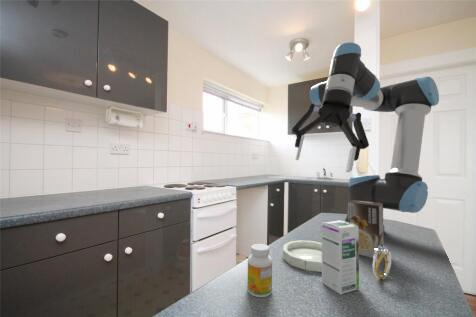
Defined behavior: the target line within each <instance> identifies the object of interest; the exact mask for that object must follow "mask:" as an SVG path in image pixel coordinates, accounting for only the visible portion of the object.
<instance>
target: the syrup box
mask: <svg viewBox="0 0 476 317" xmlns="http://www.w3.org/2000/svg"><path fill="white" fill-rule="evenodd" d="M321 243H322V272H321V282H322V283H323V284H324V285H325V286H327V287H329V288H330V289H331V290H333V291H334V292H336V294H339V295H340V296H341V295H344V294H347V293H350V292H353V291H357V290H359V289H360V255H359V227H358V226H357V225H355V224H352V223H349V222H345V220H340V219H339V220H333V221H327V222H321Z"/></svg>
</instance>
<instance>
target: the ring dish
mask: <svg viewBox="0 0 476 317" xmlns="http://www.w3.org/2000/svg"><path fill="white" fill-rule="evenodd" d="M282 259H283V260H284V261H285V262H286V263H288V264H289V265H290V266H292V267H294V268H295V267H296V268H298V269H301V270H302V271H303V270H304V271H308V272H309V271H310V272H318V273H322V242H319V241H314V240H302V239H301V240H300V239H299V240H291V241H288V242H287V243H284V244H283V246H282Z"/></svg>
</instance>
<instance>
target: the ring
mask: <svg viewBox="0 0 476 317" xmlns="http://www.w3.org/2000/svg"><path fill="white" fill-rule="evenodd" d="M378 253H379V254H380V253H382V254H381V256H380V257H379V258H378V259H377V255H378ZM391 253H392V252H391V250H390V249H388V247H387V246H386V245H383V248H382V247H381V246H380V245H379V246H378V247H375V250H374V256H373V258H372V272H373V275H374V277H376V278H377V279H379V280H385V279H386V278H387V277H388V275H389V273H390V271H391V267H392V254H391ZM383 259H384V260H385V267H384V270H383V272H382V273H379V269H380V265H381V263H382V261H383Z"/></svg>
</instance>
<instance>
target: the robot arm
mask: <svg viewBox="0 0 476 317" xmlns="http://www.w3.org/2000/svg"><path fill="white" fill-rule="evenodd" d="M361 58H362V47H361V46H360V44H357V43H355V42H351V41H350V42H344V43H342V44H339V45H338V46H336V48H335V50H334V52H333V55H332V57H331V63H330V68H329V73H328V77H327V80H326V81H324V82H319V83H317V84H315V85H313V86H312V87H311V88H310V90H309V99H310V102H311V103H310V106H309V108H308V111H307V112H306V113H305V114H304V115H303V116H302V117H301V118H300V119H299V120H298V122H296V124H295V125H294V126H293V127H292V129H291V134H292V135H294V136H296V139H295V143H294V147H295V148H297V151H296V155H295V160H296V161H299V160H300V156H301V152H302V149H303V148H302V147H303V145H304V140H305V135H306V134H308V133H309V132H310V131H312V130H313V129H315V128H316V127H318V126H320V125H321V124H322V123H323V124H324V125H326V126H331V127H334V128H335V127H338V128H339V130H341V131H342V132H343V134H344V135H345V137H346V138H347V141H348V142H349V143H350V145H351V148H350V149H349V154H348V159H347V163H346V168H345V173H350V172H352V171H353V168H354V167H353V166H354V162H355V161H358V160H359V157H360V151H361V150H365V149H367V148H368V147H369V146H370V144H369V140H368V137H367V135H366V131H365V128H364V126H363V122H362V113H360V112H357V113H351V112H350V109H351V107H357V108H358V107H359V108H363V110H366V111H370V112H379V113H390V112H392V113H395V114H396V115H397V116H398V117H397V124H396V125H397V126H396V130H395V137H394V138H395V139H394V145H393V151H392V158H391V164H390V170H388V171H386V172H385V173H384V178H381V176H380V175H379V174H377V175H376V174H374V175H373V174H372V175H358V176H357V175H356V176H351V177H350V178H349V180H348V202H350V201H352V200H358V201H367V202H375V203H383V209H387V210H392V211H398V212H401V213H411V214H412V213H413V214H415V213H418V212H420V211H421V210H422V209H423V208H424V207H425V205H426V202H427V199H428V195H429V191H428V190H429V189H428V188H429V186H428V184H427V183H426V182H425V181H423V177H422V176H421V175H420V174H419V169H420V168H419V166H420V159H421V152H422V143H423V135H424V128H425V120H426V119H425V118H426V116H427V115H429V113H431V111H432V107H435V106H437V105H438V104H439V101H440V95H439V89H438V86H437V83H436V81H435V80H434V79H433V78H432V77H431V76H423V77H417V78H415V79H410V80H406V81H403V82H399V83H394V84H390V85H389V84H388V85H387V86H386V85H385V86H383V87H381V82H380V81H379V79H378V77H377V76H376V75H375V74H374V73H373V72H372V71H371V70H370V69H369V68H368V67H367V66H366V65H365V64H364V62H363V61H362V60H361ZM318 105H319V106H320V105H321V106H320V107H318ZM316 113H317V114H318V117H317V118H316V119H314V120H313V121H311V122H310V123H308V124H307V125H305V126H304V127H303V128H302V126H303V125H304V124H305V123H306V122H307V121H308V120H309V119H310V117H311V116H312V115H315V114H316ZM348 119H350V121H351V122H352V124H353V128H354V131H353V129H352V127H351V126H350V124H349V122H348ZM300 128H301V129H300ZM354 132H355V133H354ZM344 221H345V222H348V212H347V213H346V216H345V218H344ZM384 233H385V224H384V223H383V234H384Z"/></svg>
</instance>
